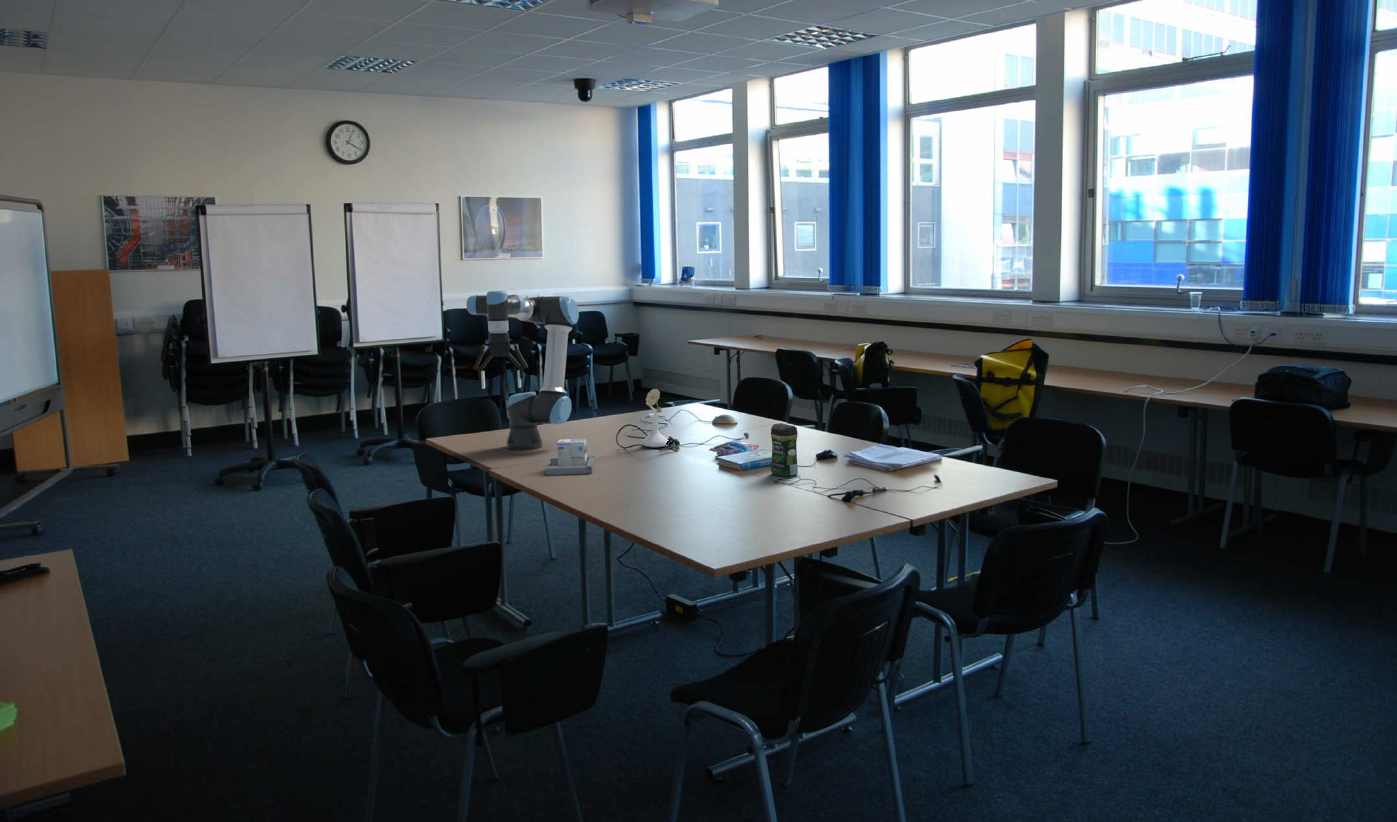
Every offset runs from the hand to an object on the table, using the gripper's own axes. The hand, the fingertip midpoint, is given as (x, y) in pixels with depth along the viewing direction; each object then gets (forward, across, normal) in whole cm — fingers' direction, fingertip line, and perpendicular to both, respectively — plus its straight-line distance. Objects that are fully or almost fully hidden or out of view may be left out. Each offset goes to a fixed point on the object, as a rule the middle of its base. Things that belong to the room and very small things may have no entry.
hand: (501, 388), depth 369 cm
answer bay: (+31, +25, -7) cm, 40 cm away
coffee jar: (+31, +104, -29) cm, 112 cm away
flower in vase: (+31, +58, +31) cm, 73 cm away
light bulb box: (+31, +26, -6) cm, 41 cm away
